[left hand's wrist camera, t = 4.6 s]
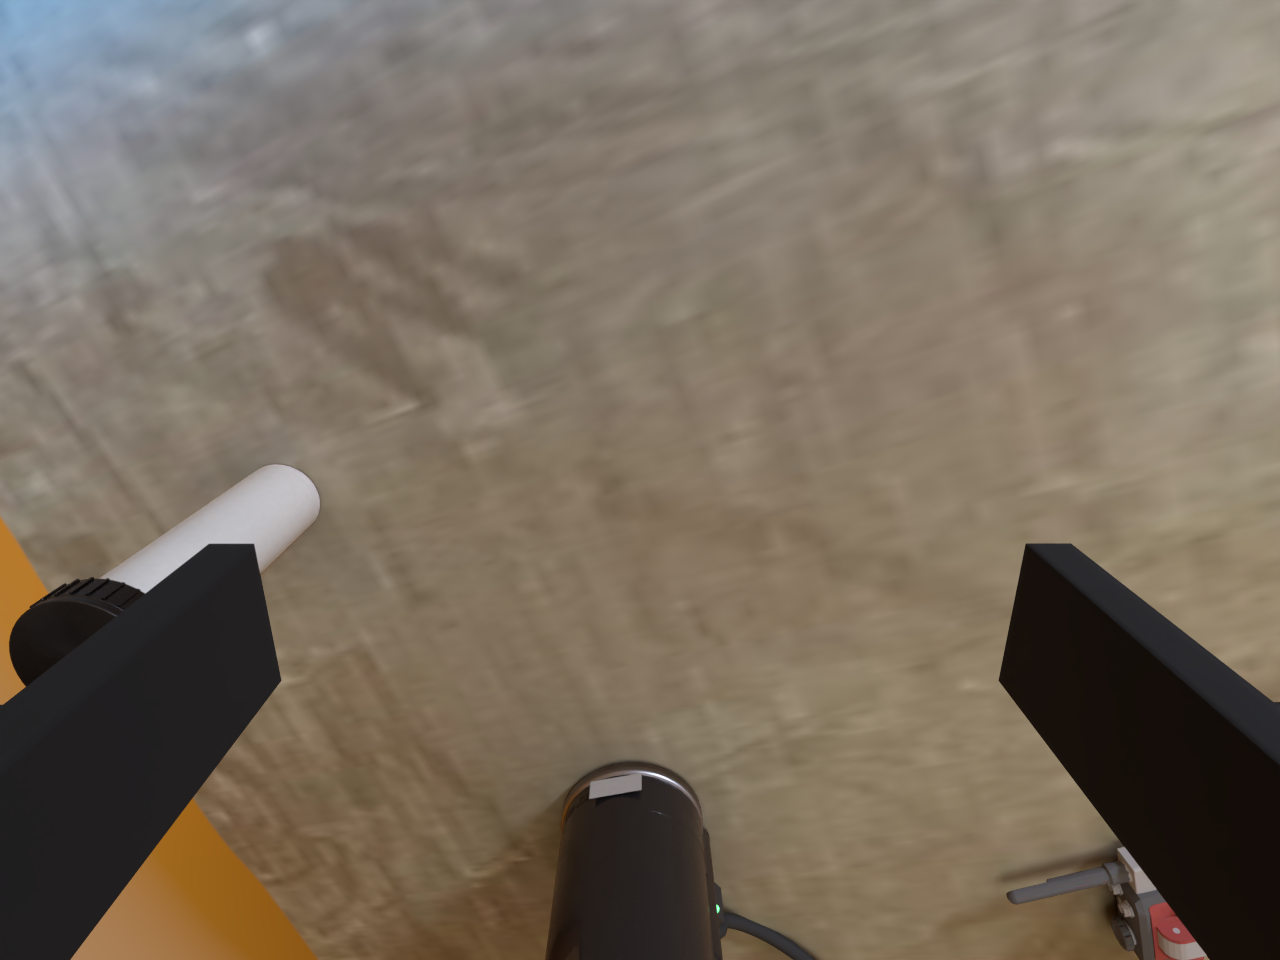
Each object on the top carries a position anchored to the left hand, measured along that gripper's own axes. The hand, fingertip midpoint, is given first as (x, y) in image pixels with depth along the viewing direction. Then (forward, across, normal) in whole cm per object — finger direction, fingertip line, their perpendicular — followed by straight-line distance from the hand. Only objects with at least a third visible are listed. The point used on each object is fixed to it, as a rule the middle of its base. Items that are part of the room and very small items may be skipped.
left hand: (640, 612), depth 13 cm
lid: (+12, -20, -9) cm, 25 cm away
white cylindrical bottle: (+28, -20, -9) cm, 36 cm away
